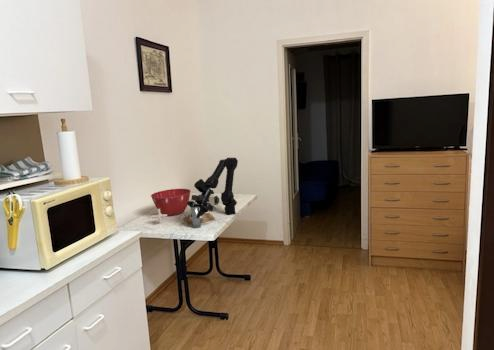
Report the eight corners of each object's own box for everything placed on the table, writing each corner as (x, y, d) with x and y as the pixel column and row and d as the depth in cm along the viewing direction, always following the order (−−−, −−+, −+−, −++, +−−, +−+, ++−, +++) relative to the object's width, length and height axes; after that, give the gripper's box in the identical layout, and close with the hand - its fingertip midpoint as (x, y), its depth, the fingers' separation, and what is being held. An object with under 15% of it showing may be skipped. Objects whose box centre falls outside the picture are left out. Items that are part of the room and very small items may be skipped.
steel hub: (199, 225, 240) (197, 205, 238) (201, 227, 236) (199, 207, 234) (192, 226, 239) (190, 206, 237) (193, 228, 234) (191, 208, 232)
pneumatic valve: (217, 211, 270) (216, 195, 268) (203, 211, 275) (201, 195, 273) (221, 209, 276) (219, 193, 274) (206, 209, 280) (205, 193, 278)
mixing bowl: (171, 220, 256) (169, 198, 253) (145, 216, 273) (142, 195, 271) (200, 210, 278) (198, 190, 275) (174, 206, 295) (172, 187, 293)
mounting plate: (209, 215, 262) (209, 212, 262) (214, 220, 249) (214, 216, 249) (184, 219, 256) (183, 216, 256) (188, 224, 243) (187, 221, 243)
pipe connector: (153, 222, 256) (152, 207, 254) (168, 220, 256) (167, 206, 255) (151, 226, 246) (149, 211, 244) (166, 225, 247) (165, 210, 245)
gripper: (187, 188, 242) (176, 209, 235) (208, 190, 231) (197, 212, 224) (197, 197, 249) (186, 218, 243) (218, 200, 238) (207, 221, 231)
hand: (194, 217), depth 235 cm, fingers closed on steel hub, 5 cm apart
